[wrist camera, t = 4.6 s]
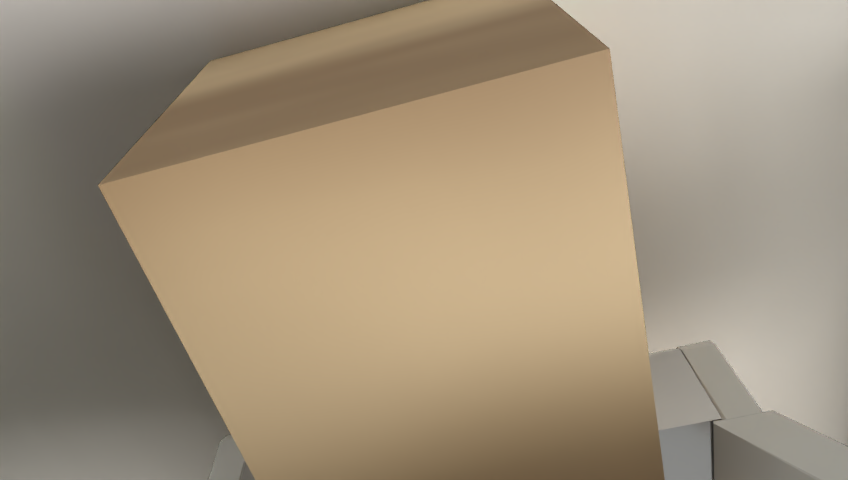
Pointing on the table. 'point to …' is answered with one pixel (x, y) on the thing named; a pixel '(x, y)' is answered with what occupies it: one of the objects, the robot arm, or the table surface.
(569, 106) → the tan wooden bar
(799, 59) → the table surface
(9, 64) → the table surface
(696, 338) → the table surface
